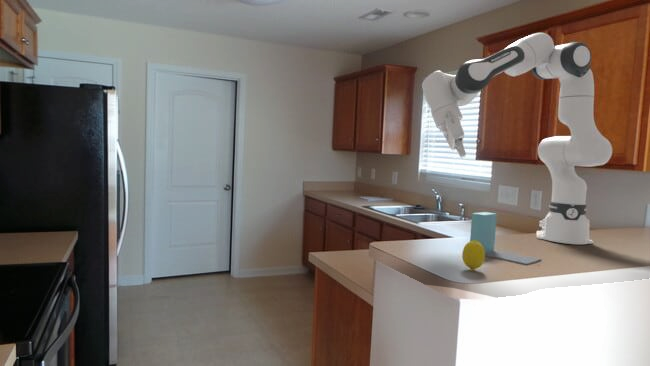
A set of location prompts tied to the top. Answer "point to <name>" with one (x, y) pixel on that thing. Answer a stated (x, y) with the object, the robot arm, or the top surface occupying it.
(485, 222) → the teal block
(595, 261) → the top surface
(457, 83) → the robot arm
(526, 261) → the mat
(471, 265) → the lemon
